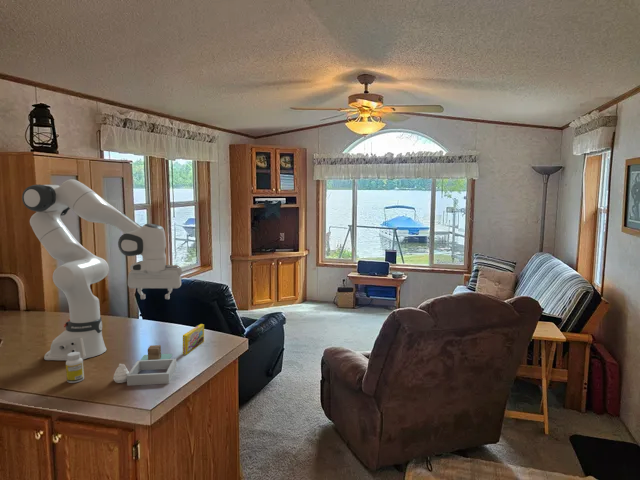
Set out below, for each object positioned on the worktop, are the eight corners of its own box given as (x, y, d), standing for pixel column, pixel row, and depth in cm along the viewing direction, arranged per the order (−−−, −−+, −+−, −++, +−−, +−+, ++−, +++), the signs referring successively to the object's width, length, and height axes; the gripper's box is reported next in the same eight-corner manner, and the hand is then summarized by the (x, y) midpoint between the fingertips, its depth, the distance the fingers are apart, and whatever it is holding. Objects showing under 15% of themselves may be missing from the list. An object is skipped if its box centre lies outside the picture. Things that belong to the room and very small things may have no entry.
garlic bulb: (132, 361, 164) (125, 367, 159) (132, 377, 165) (126, 383, 159) (116, 361, 164) (109, 367, 159) (117, 377, 165) (110, 383, 159)
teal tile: (136, 367, 173) (136, 365, 173) (144, 356, 184) (144, 354, 184) (166, 366, 175) (166, 364, 175) (172, 355, 185) (172, 353, 185)
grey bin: (127, 385, 158) (126, 375, 157) (138, 369, 171) (137, 360, 171) (169, 383, 159) (168, 373, 159) (176, 367, 173) (176, 358, 173)
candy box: (187, 355, 186) (186, 335, 185) (182, 354, 187) (181, 335, 186) (204, 342, 202) (204, 323, 201) (200, 341, 202) (199, 323, 201)
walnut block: (150, 357, 181) (150, 345, 180) (161, 357, 181) (160, 345, 181) (148, 361, 177) (147, 349, 176) (158, 361, 177) (158, 348, 177)
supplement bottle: (71, 377, 165) (69, 351, 163) (86, 376, 165) (85, 350, 164) (64, 383, 159) (62, 356, 158) (80, 383, 160) (78, 356, 158)
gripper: (182, 263, 185) (183, 296, 187) (130, 263, 183) (131, 296, 185) (179, 266, 179) (180, 300, 181) (125, 266, 177) (126, 300, 179)
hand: (155, 298), depth 183 cm, fingers open, 8 cm apart
